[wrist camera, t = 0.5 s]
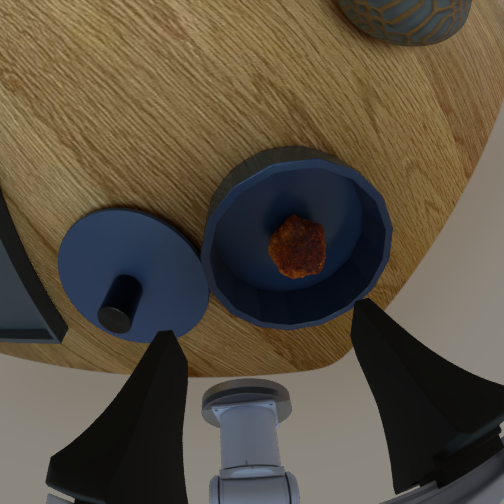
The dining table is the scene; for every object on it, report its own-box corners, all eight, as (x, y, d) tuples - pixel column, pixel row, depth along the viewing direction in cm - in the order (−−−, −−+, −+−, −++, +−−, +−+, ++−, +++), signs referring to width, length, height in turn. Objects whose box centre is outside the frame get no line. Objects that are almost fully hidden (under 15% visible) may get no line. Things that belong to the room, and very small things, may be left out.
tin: (361, 280, 22) (380, 311, 18) (224, 303, 22) (224, 340, 18) (366, 139, 16) (397, 153, 13) (190, 161, 16) (179, 179, 13)
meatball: (318, 249, 19) (336, 284, 16) (267, 258, 20) (275, 295, 16) (317, 201, 18) (338, 229, 14) (260, 209, 18) (268, 240, 14)
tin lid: (224, 326, 23) (224, 371, 19) (101, 337, 23) (87, 375, 19) (187, 186, 17) (174, 216, 13) (42, 223, 17) (9, 255, 13)
